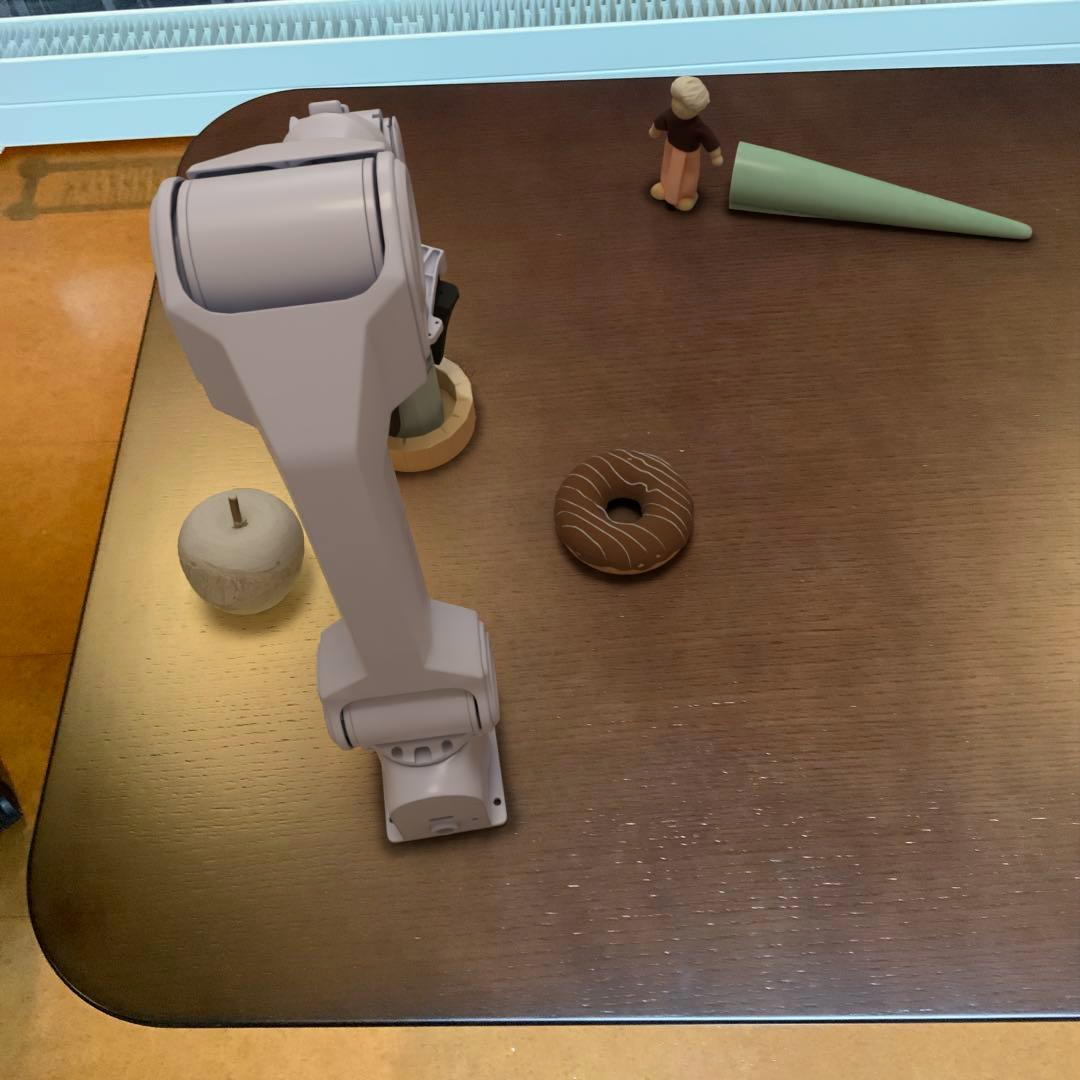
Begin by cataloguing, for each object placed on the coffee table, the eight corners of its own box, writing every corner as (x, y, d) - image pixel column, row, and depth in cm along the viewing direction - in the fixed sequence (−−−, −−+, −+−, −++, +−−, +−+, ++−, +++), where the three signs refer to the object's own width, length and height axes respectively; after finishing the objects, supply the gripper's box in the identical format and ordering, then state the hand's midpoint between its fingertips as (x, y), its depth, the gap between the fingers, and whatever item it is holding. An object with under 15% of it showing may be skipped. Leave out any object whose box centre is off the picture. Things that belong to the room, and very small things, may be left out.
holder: (482, 461, 84) (479, 440, 82) (359, 481, 84) (352, 459, 82) (468, 366, 90) (464, 343, 87) (351, 384, 89) (344, 361, 87)
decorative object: (206, 644, 78) (157, 581, 69) (202, 544, 82) (156, 473, 73) (325, 620, 78) (291, 555, 69) (314, 522, 82) (281, 449, 74)
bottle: (453, 404, 87) (437, 322, 78) (428, 449, 85) (409, 369, 76) (402, 388, 88) (381, 305, 79) (376, 431, 86) (351, 351, 77)
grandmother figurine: (633, 199, 99) (638, 80, 88) (650, 173, 100) (657, 54, 89) (709, 224, 97) (723, 105, 86) (725, 197, 98) (741, 78, 87)
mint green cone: (1051, 212, 88) (732, 168, 92) (1028, 261, 92) (725, 216, 97) (1052, 169, 90) (742, 128, 95) (1029, 218, 95) (735, 176, 99)
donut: (583, 603, 78) (582, 578, 74) (535, 491, 83) (533, 463, 79) (715, 558, 79) (721, 531, 76) (660, 451, 84) (663, 421, 81)
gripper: (380, 364, 68) (412, 480, 79) (474, 214, 74) (491, 342, 86) (286, 335, 69) (331, 452, 81) (386, 190, 76) (415, 319, 88)
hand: (408, 394), depth 84 cm, fingers open, 7 cm apart
